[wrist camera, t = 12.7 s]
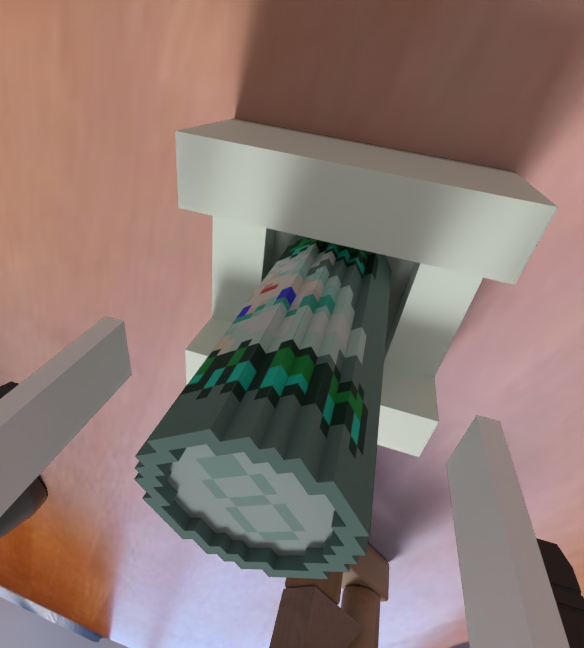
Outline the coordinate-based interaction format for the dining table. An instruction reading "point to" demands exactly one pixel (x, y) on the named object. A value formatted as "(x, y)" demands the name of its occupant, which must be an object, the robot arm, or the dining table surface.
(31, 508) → the robot arm
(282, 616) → the wooden block
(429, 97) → the dining table surface
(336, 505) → the can
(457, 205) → the socket block
